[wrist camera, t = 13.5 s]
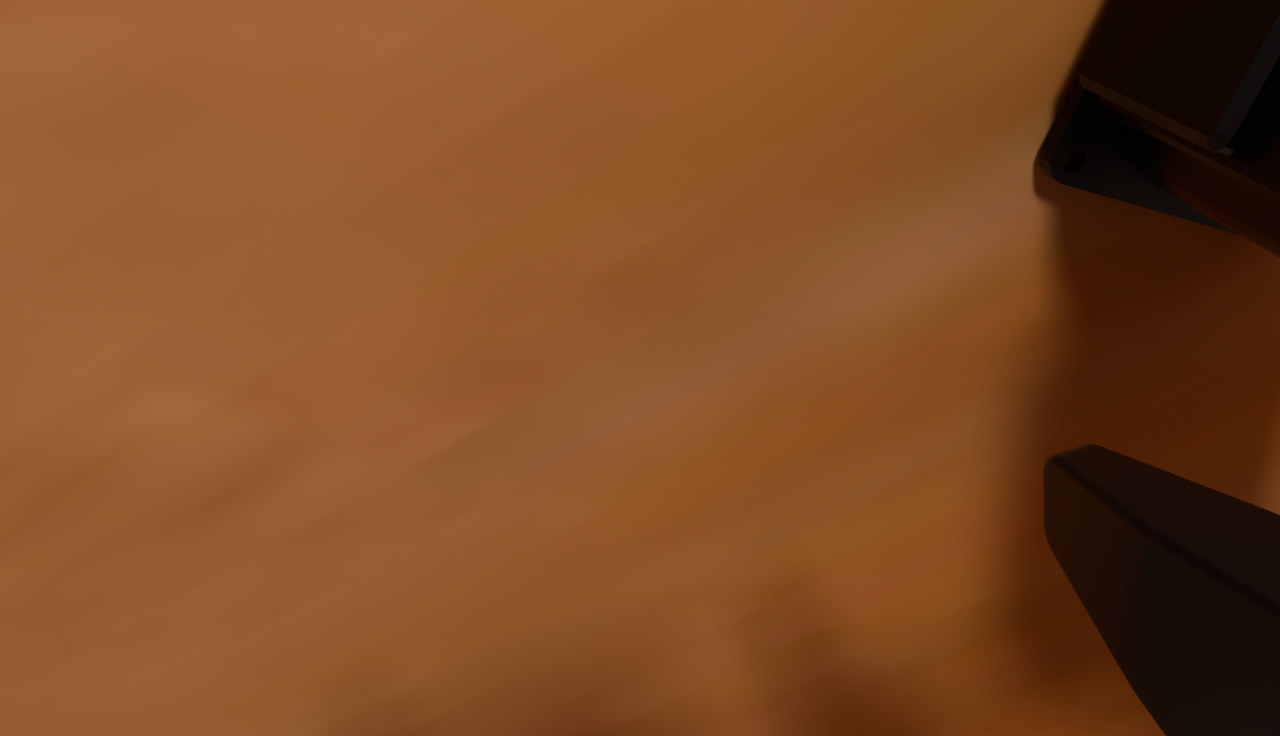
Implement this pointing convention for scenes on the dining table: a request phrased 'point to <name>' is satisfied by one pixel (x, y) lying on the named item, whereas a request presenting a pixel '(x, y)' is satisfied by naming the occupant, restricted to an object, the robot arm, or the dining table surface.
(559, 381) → the dining table surface
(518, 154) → the dining table surface
